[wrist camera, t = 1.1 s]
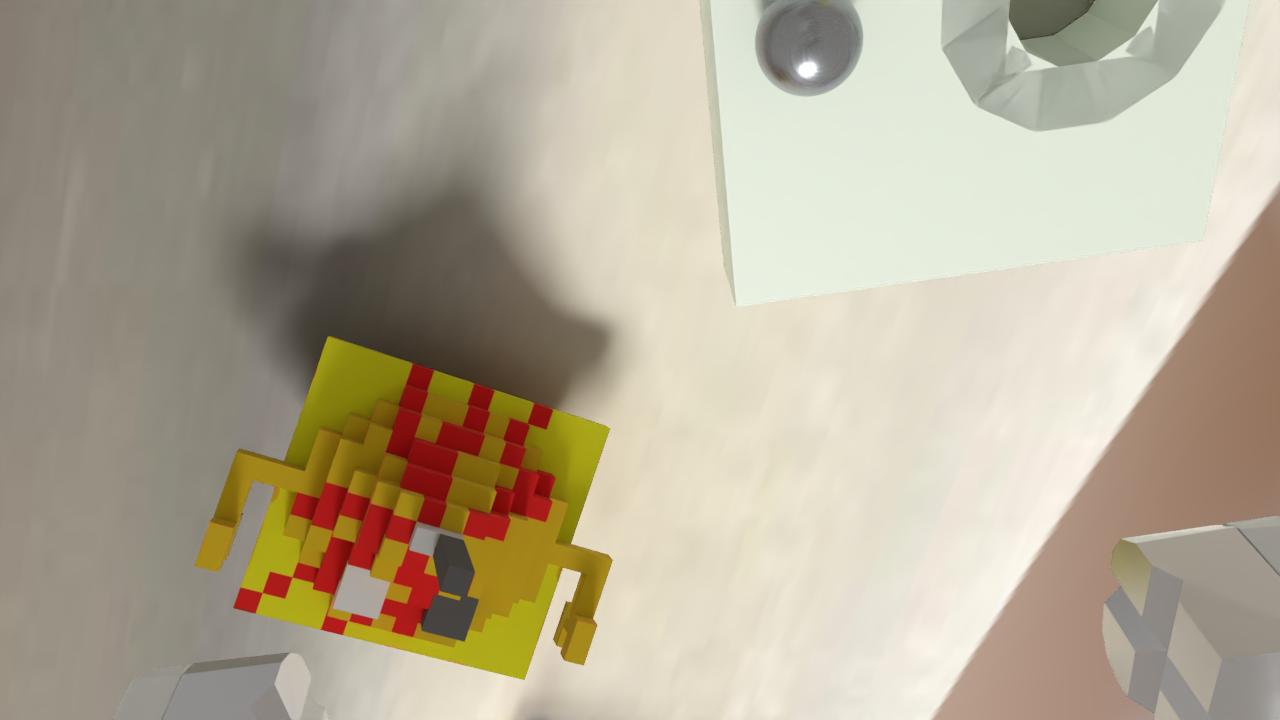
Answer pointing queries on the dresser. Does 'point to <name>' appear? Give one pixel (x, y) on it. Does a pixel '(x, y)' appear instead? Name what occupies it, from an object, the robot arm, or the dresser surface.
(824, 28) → the ball
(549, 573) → the toy
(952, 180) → the board
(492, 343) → the dresser surface
